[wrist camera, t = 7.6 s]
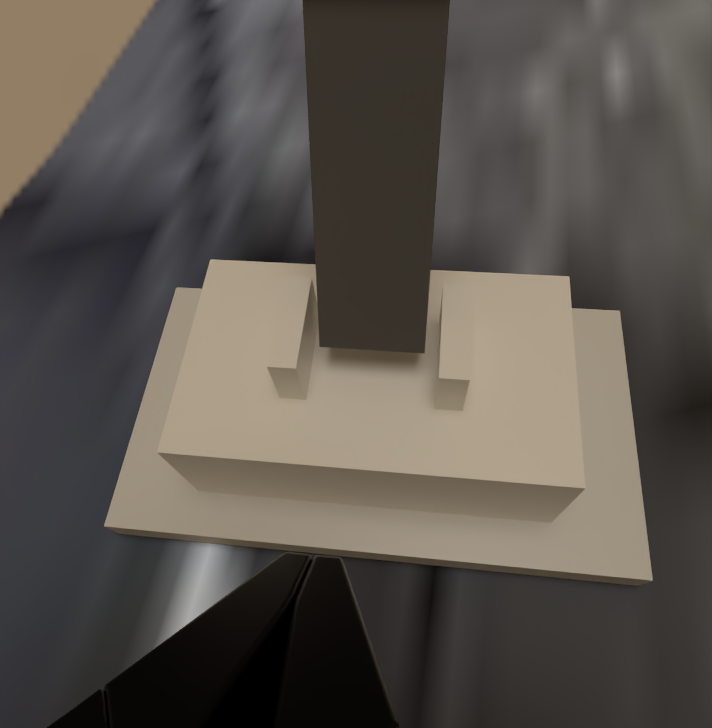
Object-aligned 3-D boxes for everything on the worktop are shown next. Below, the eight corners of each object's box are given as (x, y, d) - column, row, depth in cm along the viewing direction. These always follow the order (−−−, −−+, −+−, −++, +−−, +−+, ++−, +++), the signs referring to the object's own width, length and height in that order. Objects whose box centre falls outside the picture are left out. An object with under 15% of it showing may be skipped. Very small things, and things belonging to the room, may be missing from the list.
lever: (438, 360, 16) (482, -130, 10) (303, 351, 17) (272, -125, 11) (439, 323, 18) (476, -116, 12) (316, 317, 18) (294, -113, 12)
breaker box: (638, 585, 19) (756, 541, 13) (118, 533, 21) (-1, 472, 15) (610, 327, 24) (686, 200, 18) (185, 303, 26) (116, 181, 19)
